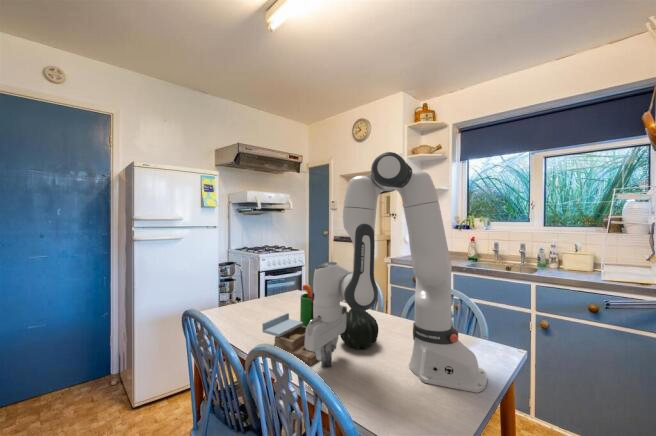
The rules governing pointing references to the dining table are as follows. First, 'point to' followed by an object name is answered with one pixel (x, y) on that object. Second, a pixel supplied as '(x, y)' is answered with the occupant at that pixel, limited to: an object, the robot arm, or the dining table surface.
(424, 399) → the dining table surface
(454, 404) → the dining table surface
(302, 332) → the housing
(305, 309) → the motor
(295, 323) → the lid
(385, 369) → the dining table surface
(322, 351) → the jaw peg
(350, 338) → the squash
